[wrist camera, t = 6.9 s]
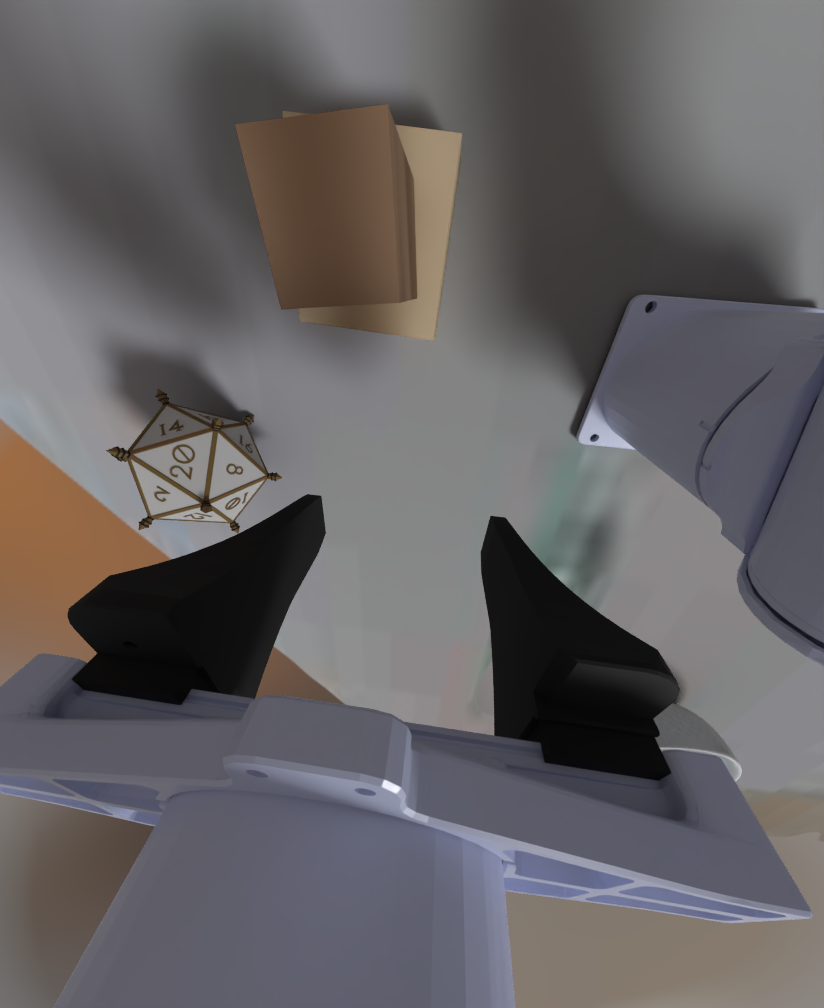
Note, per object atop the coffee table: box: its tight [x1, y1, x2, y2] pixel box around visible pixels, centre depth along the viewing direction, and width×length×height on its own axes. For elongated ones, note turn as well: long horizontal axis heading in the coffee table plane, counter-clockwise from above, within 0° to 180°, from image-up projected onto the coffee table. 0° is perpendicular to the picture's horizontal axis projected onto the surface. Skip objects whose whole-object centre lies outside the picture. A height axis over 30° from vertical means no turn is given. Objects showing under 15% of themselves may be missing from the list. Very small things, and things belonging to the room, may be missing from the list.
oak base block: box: [282, 111, 462, 341], centre depth 15 cm, size 7×7×3 cm
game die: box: [106, 389, 282, 533], centre depth 20 cm, size 9×8×10 cm
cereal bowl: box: [654, 703, 742, 781], centre depth 35 cm, size 17×17×7 cm
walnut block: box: [235, 104, 417, 309], centre depth 11 cm, size 4×4×6 cm
